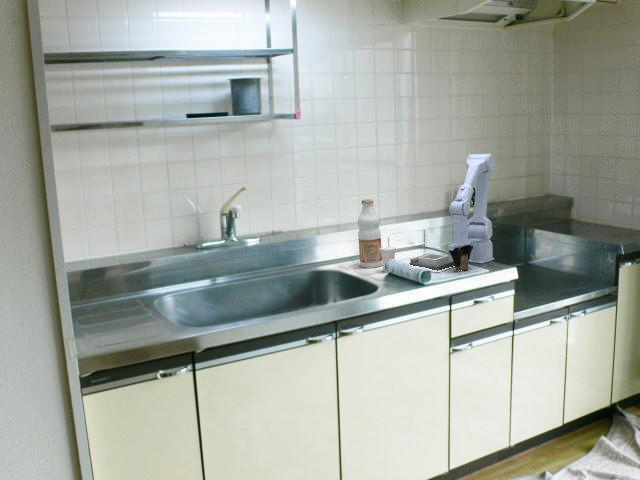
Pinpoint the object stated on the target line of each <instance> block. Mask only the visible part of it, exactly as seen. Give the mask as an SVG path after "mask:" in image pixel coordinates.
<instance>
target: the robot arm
mask: <svg viewBox="0 0 640 480" xmlns="http://www.w3.org/2000/svg"><path fill="white" fill-rule="evenodd" d="M465 163H466V164H465V166H466V169H467V171H466V175H465V177H464V181H463V184H461V185H459V188H458V190H457V193H456V196H455V199H454V200H453V201H452V202H450V205H449V209H448V212H449V214H450V219H451V220H452V237H453V238H452V239H453V240H452V242H451V243H450V244H448V245H447V251H448V252H449V254H450V256H451V259H453V262H454V265H455V266H456V267H460V265H461V255H462V253H464V254H467V255H468V263H473V264H474V263H476V264H486V263H488V262H491V261H494V260H495V258H494V257H493V256H494V255H493V253H494V251H493V242H492V240H490V239H491V238H492V235H493V223H492V221H491V220H490V219H489V218H488V217H487V207H488V198H489V189H490V177H492V176H493V175H494V171H495V169H494V167H495V158H494V156H493V155H492V153H480V154H479V153H478V154H477V153H475V154H472V153H470V154H468V155H467V157H466V162H465ZM475 183H476V185H475ZM474 185H475V186H476V187H475V188H476V189H475V191H474V188H473V187H474ZM474 192H475V196H474V207H473V215H472V216H471V217H469V219H468V215H469V214H470V211H471V204H472V203H471V200H472V196H473V195H474Z"/></svg>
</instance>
